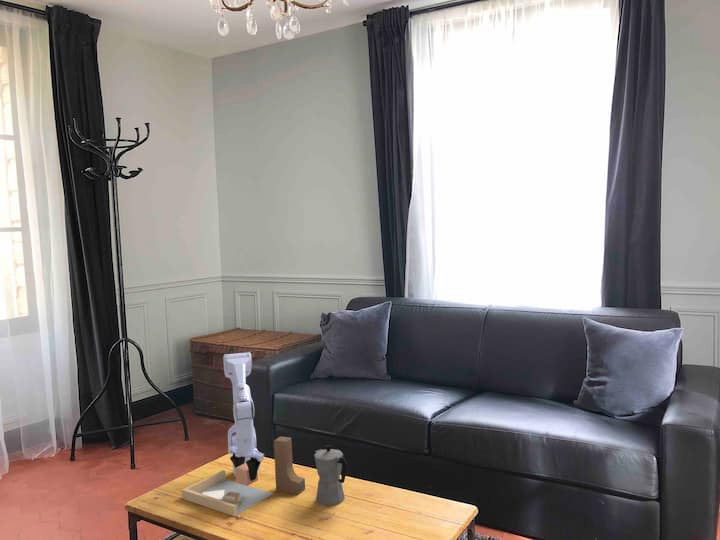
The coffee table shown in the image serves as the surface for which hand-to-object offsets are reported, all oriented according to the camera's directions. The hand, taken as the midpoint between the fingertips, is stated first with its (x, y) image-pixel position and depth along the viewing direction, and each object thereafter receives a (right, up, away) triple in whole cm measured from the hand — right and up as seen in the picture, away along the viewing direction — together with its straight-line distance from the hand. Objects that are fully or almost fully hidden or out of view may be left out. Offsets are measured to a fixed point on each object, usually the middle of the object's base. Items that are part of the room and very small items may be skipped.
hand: (247, 477), depth 196 cm
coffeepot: (+29, -6, -4) cm, 29 cm away
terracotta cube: (0, -1, 0) cm, 1 cm away
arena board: (-6, -7, 0) cm, 9 cm away
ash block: (-3, -6, -8) cm, 11 cm away
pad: (-11, -6, 0) cm, 13 cm away
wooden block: (+14, -6, +3) cm, 16 cm away
